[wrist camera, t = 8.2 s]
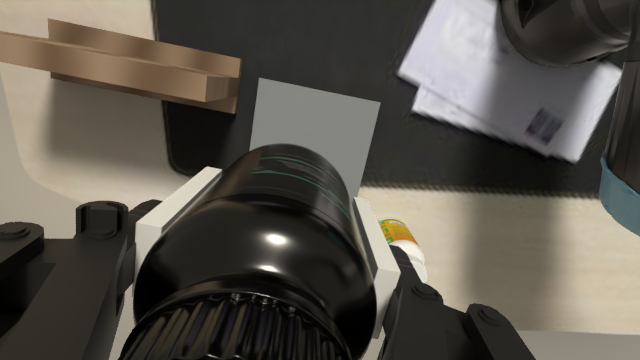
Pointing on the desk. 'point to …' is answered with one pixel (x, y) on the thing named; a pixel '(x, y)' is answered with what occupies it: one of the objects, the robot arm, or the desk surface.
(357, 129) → the slate mat
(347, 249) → the supplement bottle
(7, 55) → the walnut screen
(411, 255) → the supplement bottle
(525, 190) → the desk surface
